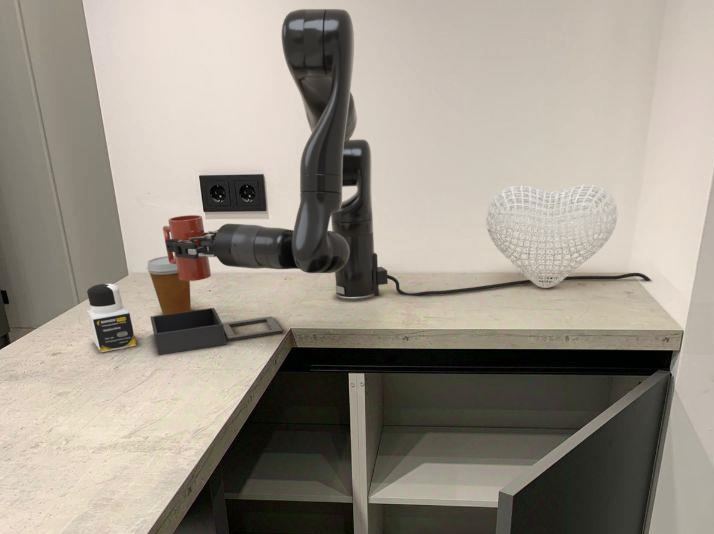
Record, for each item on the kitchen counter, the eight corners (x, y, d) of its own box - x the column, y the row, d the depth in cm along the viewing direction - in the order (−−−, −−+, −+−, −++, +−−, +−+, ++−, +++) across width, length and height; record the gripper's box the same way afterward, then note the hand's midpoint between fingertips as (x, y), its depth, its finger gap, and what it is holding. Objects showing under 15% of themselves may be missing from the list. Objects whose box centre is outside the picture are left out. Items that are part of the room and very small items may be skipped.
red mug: (217, 274, 144) (208, 215, 139) (195, 282, 139) (185, 221, 134) (183, 271, 148) (173, 214, 143) (160, 278, 144) (149, 219, 139)
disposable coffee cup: (188, 320, 162) (178, 264, 156) (148, 319, 164) (137, 265, 158) (204, 307, 170) (196, 254, 164) (166, 307, 172) (157, 255, 166)
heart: (610, 280, 171) (621, 178, 160) (608, 299, 158) (620, 189, 148) (490, 277, 179) (493, 180, 169) (478, 294, 167) (481, 191, 156)
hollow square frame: (271, 318, 159) (271, 316, 159) (282, 333, 150) (282, 330, 150) (221, 326, 157) (220, 323, 156) (229, 341, 147) (228, 338, 147)
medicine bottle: (100, 353, 145) (86, 292, 139) (94, 343, 151) (80, 285, 145) (136, 346, 148) (124, 286, 142) (129, 336, 154) (116, 279, 148)
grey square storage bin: (217, 326, 157) (214, 307, 155) (226, 344, 145) (223, 324, 143) (154, 335, 153) (150, 316, 151) (158, 354, 142) (154, 334, 140)
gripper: (268, 217, 136) (202, 214, 145) (216, 232, 126) (148, 228, 134) (273, 258, 140) (208, 253, 148) (223, 276, 130) (156, 269, 138)
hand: (180, 241), depth 141 cm, fingers closed on red mug, 6 cm apart
